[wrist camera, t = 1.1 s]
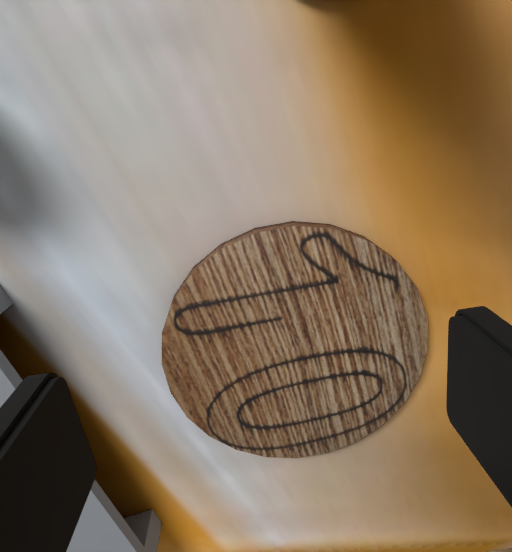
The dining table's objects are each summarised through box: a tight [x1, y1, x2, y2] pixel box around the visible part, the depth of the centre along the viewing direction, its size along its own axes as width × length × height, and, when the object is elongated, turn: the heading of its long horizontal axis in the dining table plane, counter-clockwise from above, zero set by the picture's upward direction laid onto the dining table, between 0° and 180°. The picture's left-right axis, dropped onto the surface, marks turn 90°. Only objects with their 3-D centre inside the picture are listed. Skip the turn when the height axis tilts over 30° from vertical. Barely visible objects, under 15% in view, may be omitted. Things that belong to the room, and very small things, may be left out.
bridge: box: [0, 286, 162, 552], centre depth 39 cm, size 8×33×6 cm, turn 21°
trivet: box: [162, 221, 428, 458], centre depth 39 cm, size 25×25×2 cm
